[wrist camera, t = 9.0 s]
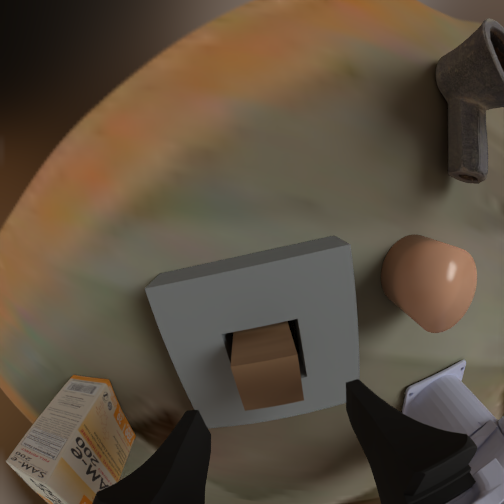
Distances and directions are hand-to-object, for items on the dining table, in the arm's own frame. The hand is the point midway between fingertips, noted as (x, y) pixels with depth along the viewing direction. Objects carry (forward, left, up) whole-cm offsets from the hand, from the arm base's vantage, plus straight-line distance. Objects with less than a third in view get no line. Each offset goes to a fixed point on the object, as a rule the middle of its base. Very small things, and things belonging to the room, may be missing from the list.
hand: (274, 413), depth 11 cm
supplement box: (-6, +17, -8) cm, 20 cm away
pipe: (+14, -19, -8) cm, 25 cm away
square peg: (0, 0, -8) cm, 8 cm away
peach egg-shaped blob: (+2, -12, -8) cm, 15 cm away
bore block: (0, 0, -8) cm, 8 cm away
